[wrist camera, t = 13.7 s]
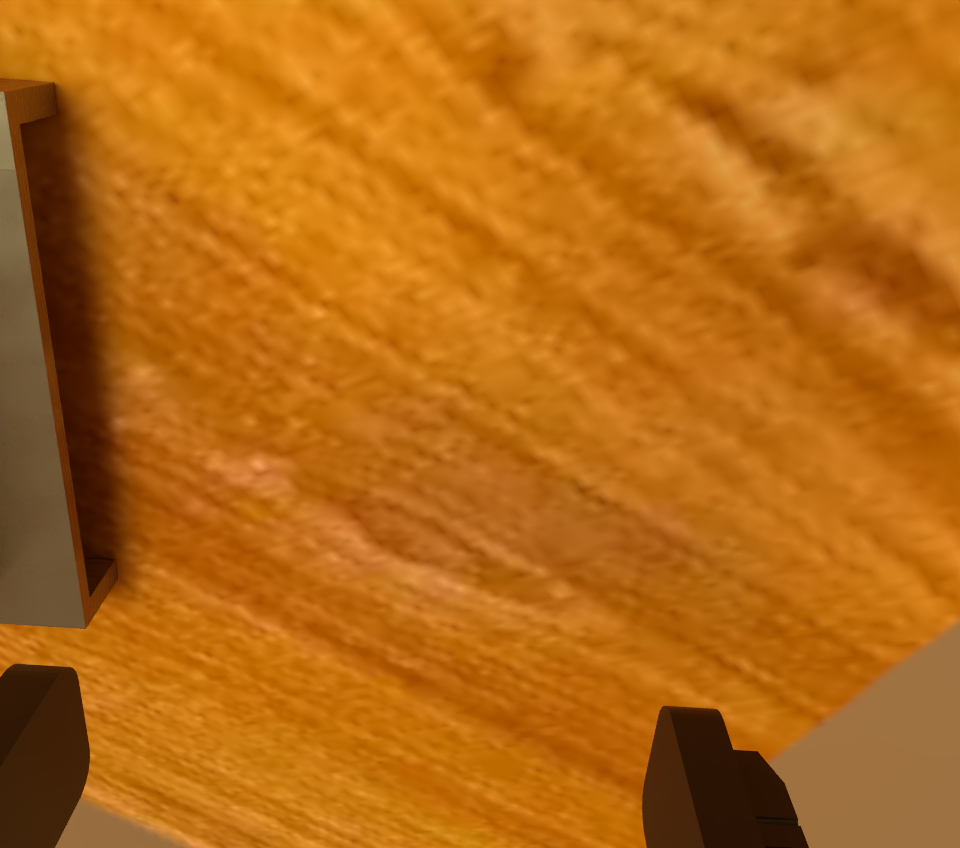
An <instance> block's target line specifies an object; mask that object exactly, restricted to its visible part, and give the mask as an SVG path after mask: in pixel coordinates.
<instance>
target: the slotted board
mask: <svg viewBox="0 0 960 848" xmlns="http://www.w3.org/2000/svg"><path fill="white" fill-rule="evenodd" d="M57 114H58V112H57V104H56V97H55V89H54V82H41V81H28V80H15V79H2V78H0V624H16V625H32V626H48V627H64V628H80V629H86V628H87V626H88V625H89V623H90V621H91V620H92V618H93V617H94V615H95V614H96V612H97V611H98V609H99V607H100V606H101V604H102V603H103V601H104V600H105V598H106V596H107V595H108V593H109V592H110V590H111V589H112V587H113V585H114V584H115V582H116V581H117V579H118V577H117V569H116V562H115V559H100V558H84V556H83V550H82V543H81V536H80V529H79V523H78V516H77V509H76V502H75V496H74V489H73V482H72V475H71V468H70V462H69V455H68V448H67V441H66V435H65V428H64V421H63V414H62V407H61V401H60V394H59V387H58V380H57V374H56V367H55V360H54V353H53V347H52V340H51V333H50V326H49V319H48V313H47V306H46V299H45V292H44V286H43V279H42V272H41V265H40V258H39V252H38V245H37V238H36V231H35V225H34V218H33V211H32V204H31V198H30V191H29V184H28V177H27V170H26V164H25V157H24V150H23V143H22V137H21V130H20V124H23V123H27V122H31V121H34V120H38V119H42V118H46V117H49V116H53V115H57Z"/></svg>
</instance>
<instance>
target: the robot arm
mask: <svg viewBox="0 0 960 848" xmlns="http://www.w3.org/2000/svg"><path fill="white" fill-rule="evenodd" d="M89 762H90V749H89V742H88V735H87V729H86V723H85V717H84V711H83V705H82V699H81V692H80V686H79V680H78V676H77V673H76V671H75V670H74V669H73V668H71V667H58V666H42V665H26V664H14V665H12V666H10V667H9V668H8V669H7V670H6V671H5V672H4V673H3V675H2V676H1V677H0V848H55V846H56V844H57V842H58V840H59V838H60V836H61V834H62V832H63V831H64V829H65V827H66V825H67V823H68V821H69V819H70V817H71V815H72V813H73V811H74V809H75V807H76V805H77V803H78V801H79V799H80V797H81V795H82V792H83V789H84V786H85V783H86V779H87V775H88V770H89ZM642 813H643V827H644V834H645V840H646V845H647V848H809V847H808V844H807V841H806V839H805V836H804V834H803V831H802V828H801V826H798V818H797V815H796V813H795V810H794V807H793V805H792V802H791V799H790V797H789V794H788V791H787V789H786V786H785V783H784V782H783V781H782V780H781V779H780V778H779V776H778V775H777V774H776V773H775V771H774V770H773V769H772V768H771V767H770V766H769V764H768V763H767V762H766V761H765V760H764V758H763V757H762V756H761V755H760V754H759V753H758V751H742V750H733V748H732V745H731V742H730V739H729V735H728V732H727V729H726V726H725V723H724V720H723V718H722V715H721V713H720V712H719V711H718V710H717V709H707V708H691V707H675V706H663V707H662V708H661V710H660V713H659V716H658V721H657V725H656V730H655V735H654V739H653V744H652V749H651V753H650V758H649V763H648V767H647V772H646V777H645V781H644V788H643V801H642Z"/></svg>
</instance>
